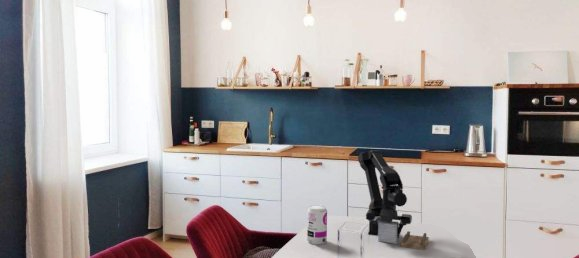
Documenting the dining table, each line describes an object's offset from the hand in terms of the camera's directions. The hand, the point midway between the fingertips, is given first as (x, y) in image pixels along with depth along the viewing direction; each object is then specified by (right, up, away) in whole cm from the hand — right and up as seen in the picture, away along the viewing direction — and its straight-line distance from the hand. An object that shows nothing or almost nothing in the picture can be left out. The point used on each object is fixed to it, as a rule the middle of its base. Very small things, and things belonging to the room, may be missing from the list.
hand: (388, 236), depth 207 cm
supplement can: (-31, -2, -2) cm, 31 cm away
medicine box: (0, -2, 0) cm, 2 cm away
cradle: (+11, -2, -2) cm, 11 cm away
